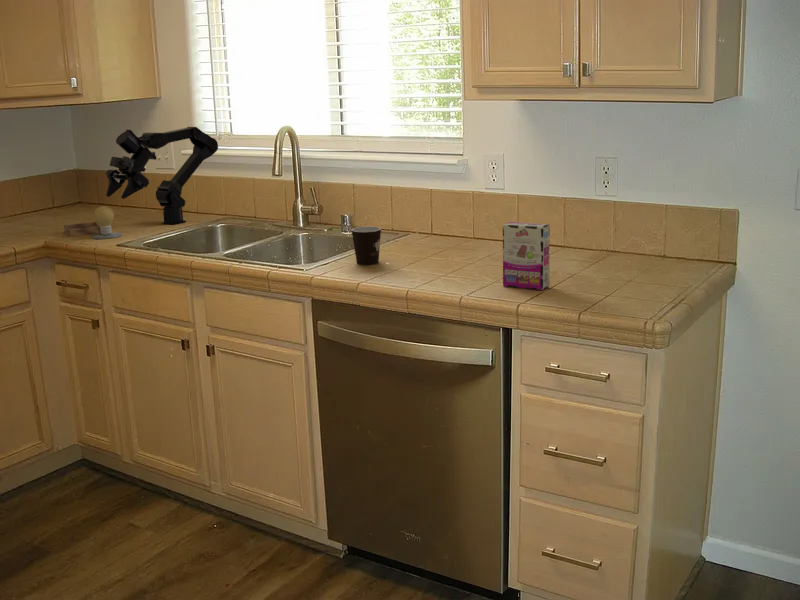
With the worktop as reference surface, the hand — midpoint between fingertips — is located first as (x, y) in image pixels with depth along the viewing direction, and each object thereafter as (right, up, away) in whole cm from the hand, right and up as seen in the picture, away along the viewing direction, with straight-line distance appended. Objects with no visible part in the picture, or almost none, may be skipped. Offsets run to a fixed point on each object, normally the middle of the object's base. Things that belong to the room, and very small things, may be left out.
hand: (114, 197), depth 319 cm
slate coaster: (-3, -14, 0) cm, 14 cm away
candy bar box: (+133, -33, -85) cm, 161 cm away
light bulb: (-3, -13, 0) cm, 14 cm away
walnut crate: (-14, -12, +8) cm, 20 cm away
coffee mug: (+92, -25, -52) cm, 109 cm away
